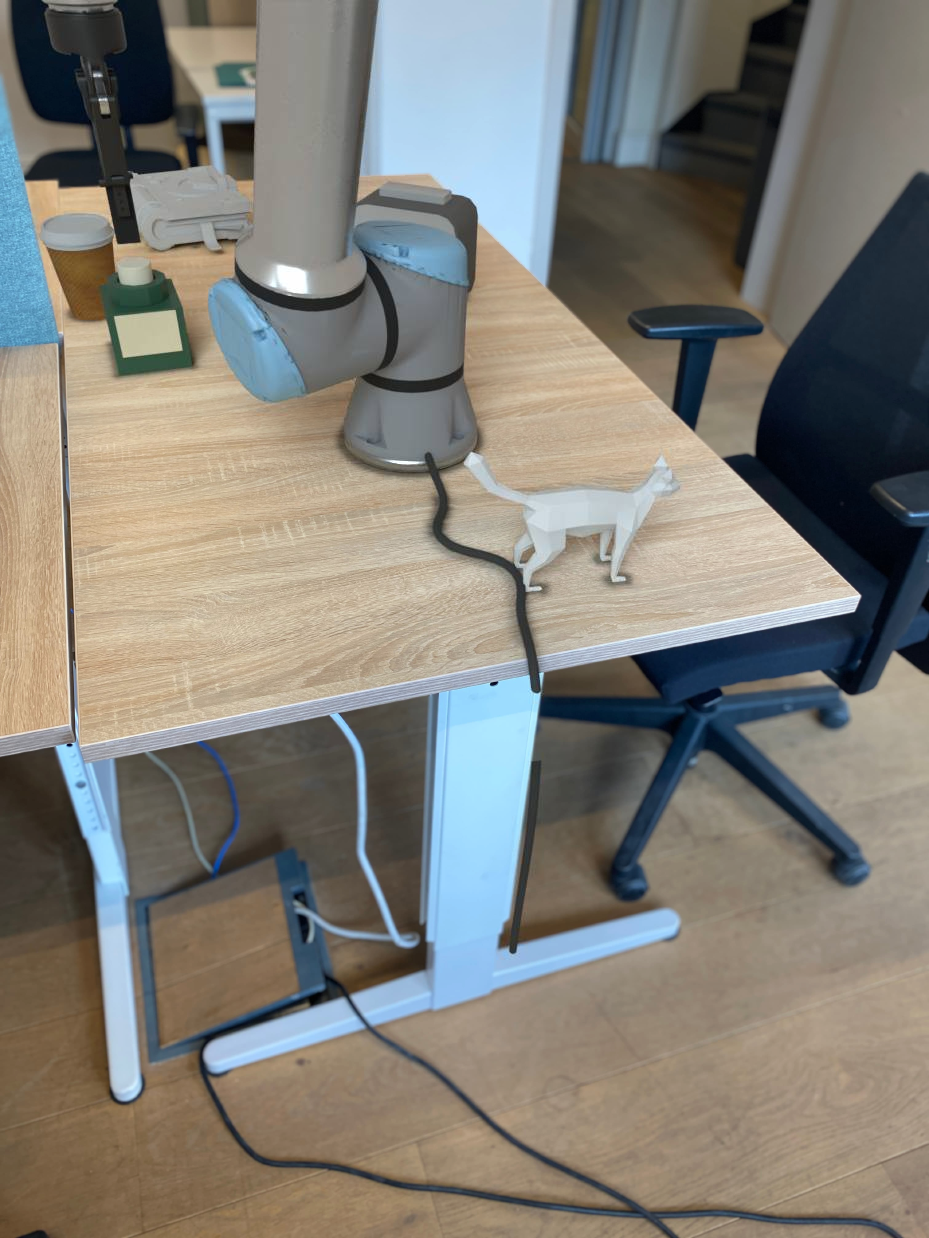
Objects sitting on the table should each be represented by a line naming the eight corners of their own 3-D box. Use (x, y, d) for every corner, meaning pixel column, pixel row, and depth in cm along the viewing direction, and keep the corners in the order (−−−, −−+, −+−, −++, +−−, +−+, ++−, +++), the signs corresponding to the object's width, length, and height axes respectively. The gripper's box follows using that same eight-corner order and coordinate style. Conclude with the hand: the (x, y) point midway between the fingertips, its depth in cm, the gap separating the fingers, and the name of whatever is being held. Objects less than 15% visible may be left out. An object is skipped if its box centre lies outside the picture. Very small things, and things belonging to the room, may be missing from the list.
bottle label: (182, 350, 114) (175, 310, 110) (123, 358, 111) (114, 316, 108) (182, 350, 114) (175, 309, 110) (122, 357, 111) (113, 316, 108)
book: (153, 264, 142) (144, 213, 137) (115, 211, 161) (105, 165, 156) (271, 248, 149) (266, 199, 144) (221, 200, 168) (215, 155, 163)
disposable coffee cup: (143, 304, 130) (126, 217, 122) (106, 329, 123) (85, 239, 115) (85, 295, 132) (64, 208, 124) (45, 319, 125) (20, 229, 117)
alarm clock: (351, 302, 133) (346, 190, 123) (381, 276, 142) (378, 169, 132) (455, 320, 130) (459, 206, 120) (479, 293, 138) (485, 184, 128)
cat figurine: (669, 579, 86) (700, 448, 76) (463, 600, 82) (469, 466, 73) (652, 551, 89) (680, 423, 80) (453, 570, 85) (458, 438, 76)
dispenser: (192, 367, 115) (179, 289, 109) (119, 376, 113) (101, 297, 106) (181, 335, 122) (168, 261, 116) (111, 343, 120) (94, 267, 113)
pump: (155, 285, 111) (152, 266, 109) (121, 289, 109) (117, 269, 108) (151, 274, 113) (148, 255, 112) (118, 277, 112) (114, 258, 111)
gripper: (126, 15, 89) (168, 257, 105) (113, -3, 98) (154, 222, 114) (45, 16, 87) (100, 263, 103) (40, -3, 96) (91, 226, 112)
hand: (128, 241), depth 108 cm, fingers closed
